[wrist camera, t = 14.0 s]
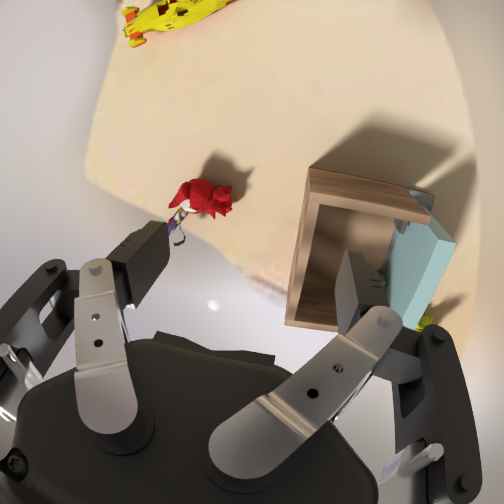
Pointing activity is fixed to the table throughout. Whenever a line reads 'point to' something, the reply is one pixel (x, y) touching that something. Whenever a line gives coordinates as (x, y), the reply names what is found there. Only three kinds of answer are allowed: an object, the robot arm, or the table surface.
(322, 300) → the cabinet
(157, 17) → the toy boat
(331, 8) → the table surface
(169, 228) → the figurine
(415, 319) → the door
